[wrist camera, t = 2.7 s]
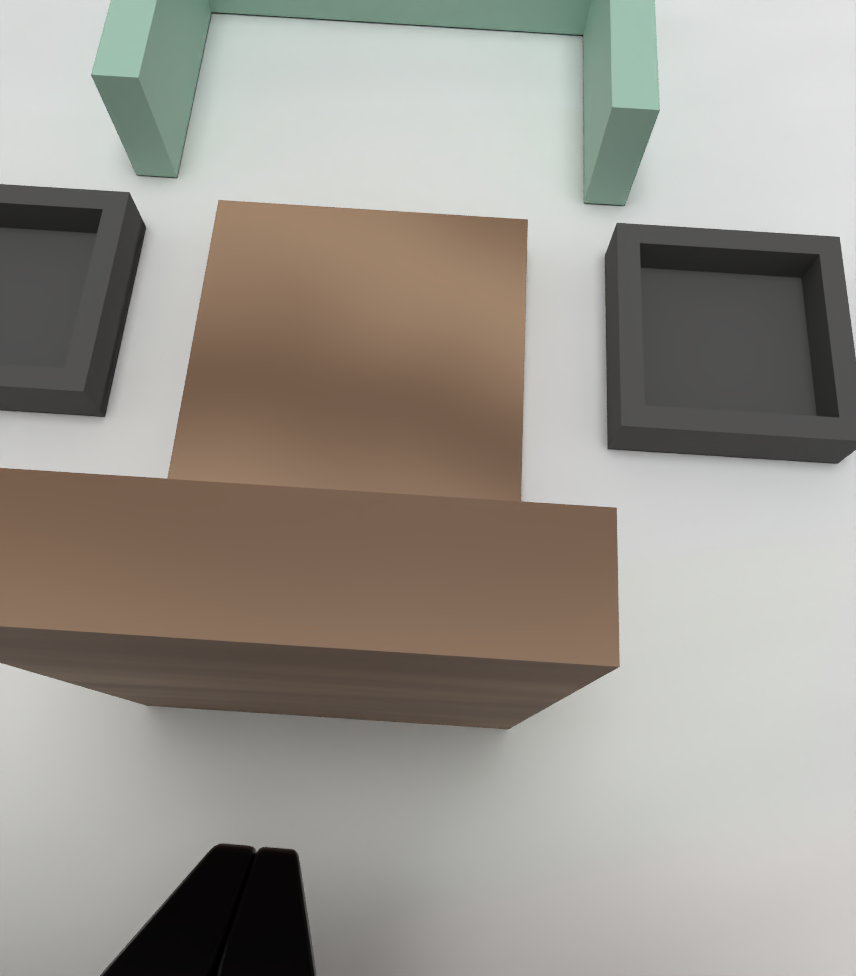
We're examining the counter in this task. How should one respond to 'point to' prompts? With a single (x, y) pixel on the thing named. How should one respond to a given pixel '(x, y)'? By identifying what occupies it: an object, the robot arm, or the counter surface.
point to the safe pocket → (452, 3)
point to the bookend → (327, 497)
